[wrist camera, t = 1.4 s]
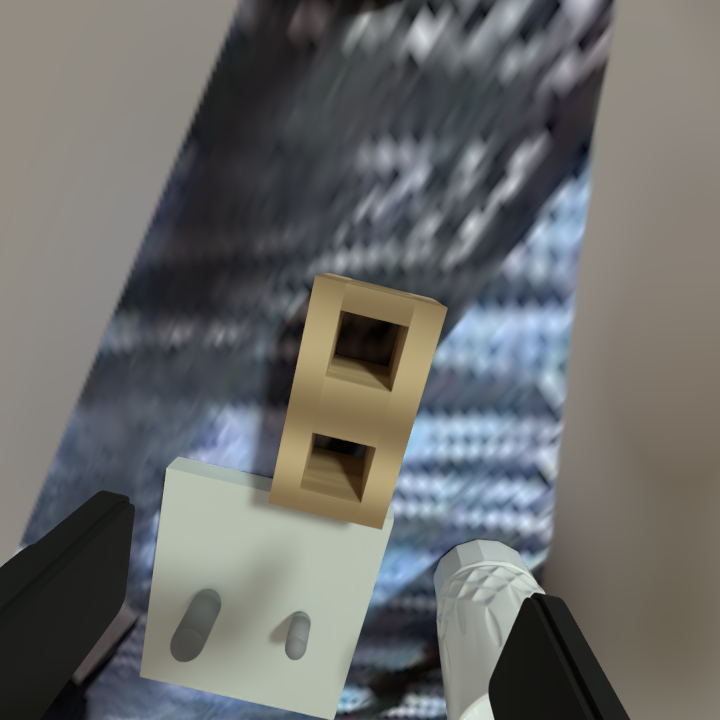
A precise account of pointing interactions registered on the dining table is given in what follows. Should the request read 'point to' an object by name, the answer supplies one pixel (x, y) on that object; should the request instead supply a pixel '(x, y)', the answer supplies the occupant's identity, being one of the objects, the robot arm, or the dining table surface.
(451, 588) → the white cup
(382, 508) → the tan hollow block
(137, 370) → the dining table surface
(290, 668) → the post board
